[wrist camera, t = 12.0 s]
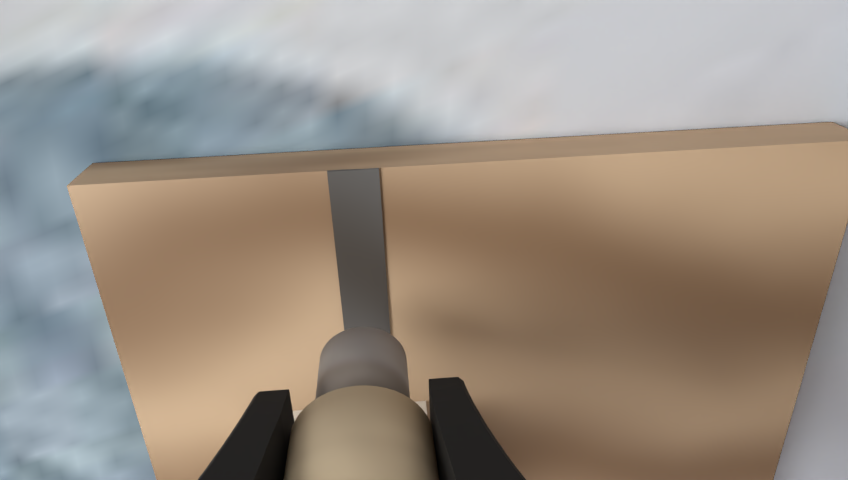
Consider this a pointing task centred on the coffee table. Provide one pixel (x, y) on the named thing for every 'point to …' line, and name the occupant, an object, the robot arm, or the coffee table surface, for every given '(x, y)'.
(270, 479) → the robot arm
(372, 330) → the awl
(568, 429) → the subfloor board
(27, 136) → the coffee table surface
